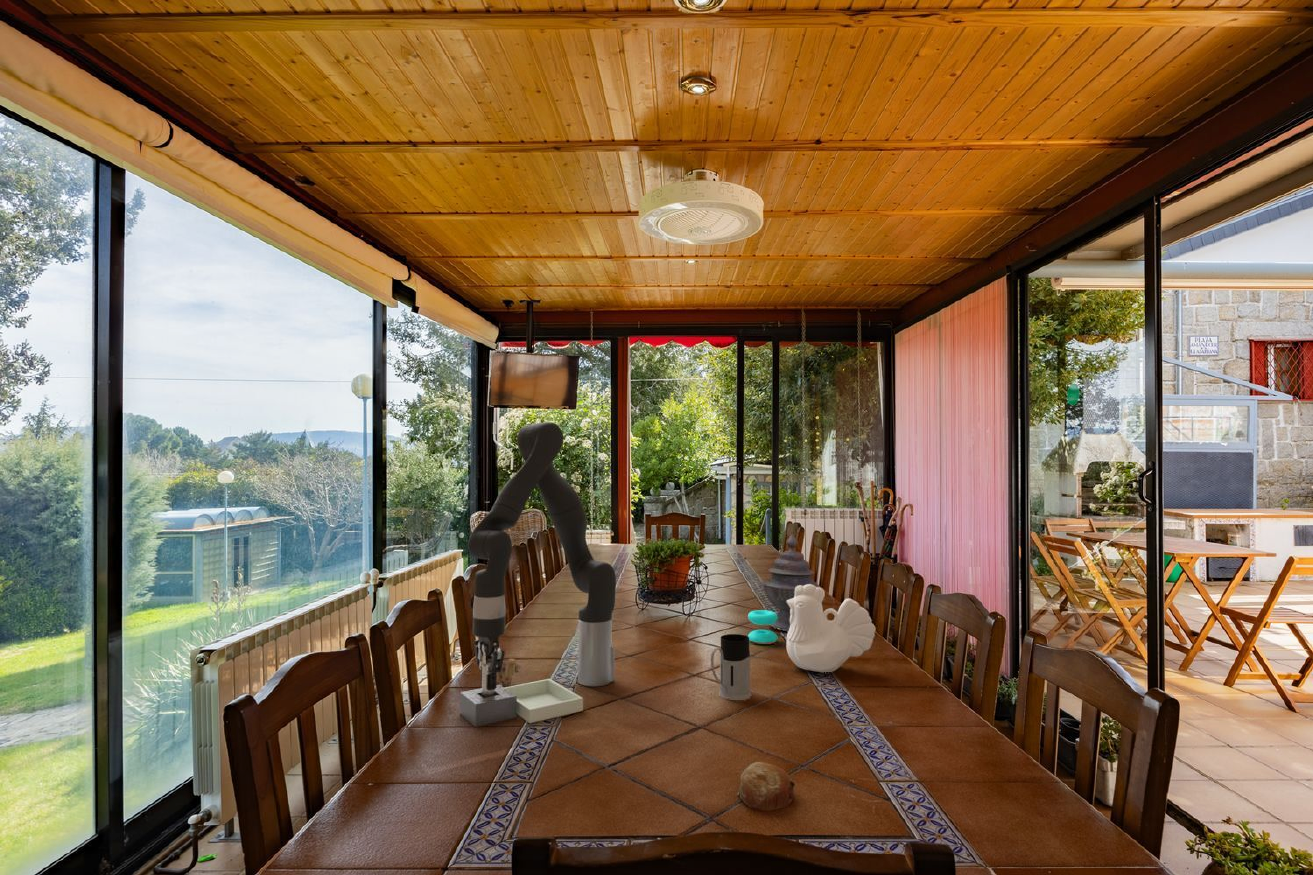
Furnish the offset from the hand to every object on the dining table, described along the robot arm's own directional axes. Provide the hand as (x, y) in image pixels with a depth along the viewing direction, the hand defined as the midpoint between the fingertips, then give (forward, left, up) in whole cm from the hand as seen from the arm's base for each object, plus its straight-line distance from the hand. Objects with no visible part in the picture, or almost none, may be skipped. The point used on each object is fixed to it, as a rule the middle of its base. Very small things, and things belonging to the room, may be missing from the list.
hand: (488, 686), depth 165 cm
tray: (-13, +1, -8) cm, 15 cm away
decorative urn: (-125, -22, -8) cm, 127 cm away
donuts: (-103, -14, -8) cm, 104 cm away
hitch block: (0, 0, -8) cm, 8 cm away
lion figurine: (-12, -19, -8) cm, 24 cm away
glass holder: (-57, +21, -8) cm, 61 cm away
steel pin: (0, 0, -7) cm, 7 cm away
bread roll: (-27, +65, -8) cm, 71 cm away
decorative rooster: (-96, +21, -8) cm, 99 cm away
